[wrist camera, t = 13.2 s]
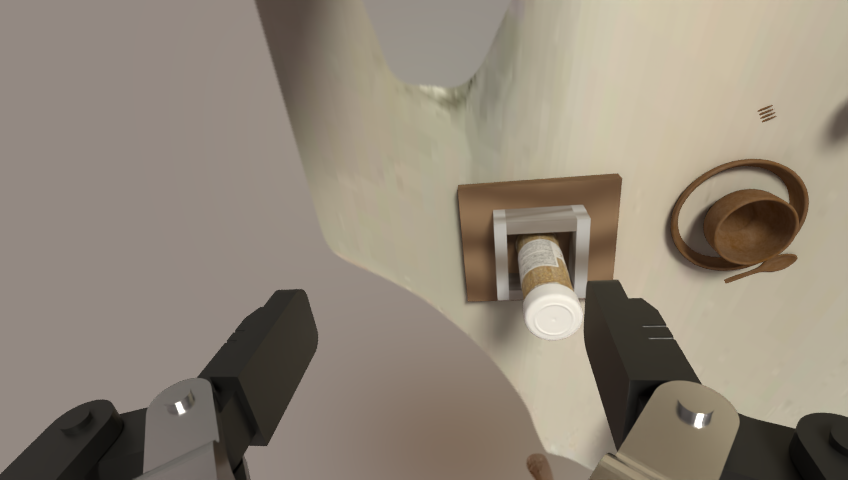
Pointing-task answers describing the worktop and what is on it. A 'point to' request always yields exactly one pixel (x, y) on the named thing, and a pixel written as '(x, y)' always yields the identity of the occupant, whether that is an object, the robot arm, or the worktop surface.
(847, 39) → the worktop surface
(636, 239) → the worktop surface
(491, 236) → the socket
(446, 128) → the worktop surface
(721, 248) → the place setting
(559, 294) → the sprinkles bottle
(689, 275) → the worktop surface
